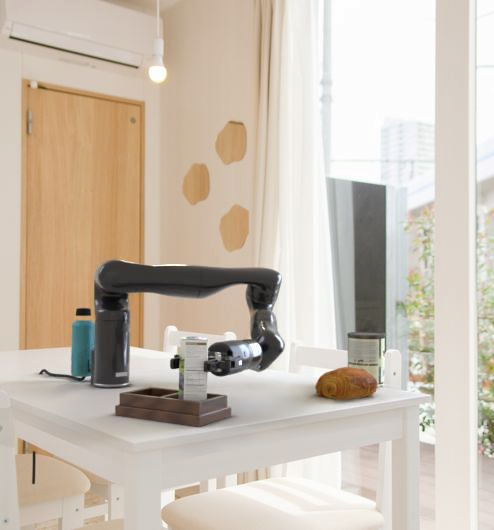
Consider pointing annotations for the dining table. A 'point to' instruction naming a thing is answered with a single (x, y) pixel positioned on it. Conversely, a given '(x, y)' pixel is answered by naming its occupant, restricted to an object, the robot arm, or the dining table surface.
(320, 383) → the croissant
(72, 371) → the beverage bottle
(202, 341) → the syrup box
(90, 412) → the dining table surface
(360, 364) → the coffee can
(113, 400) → the dining table surface
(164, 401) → the shallow walnut tray
